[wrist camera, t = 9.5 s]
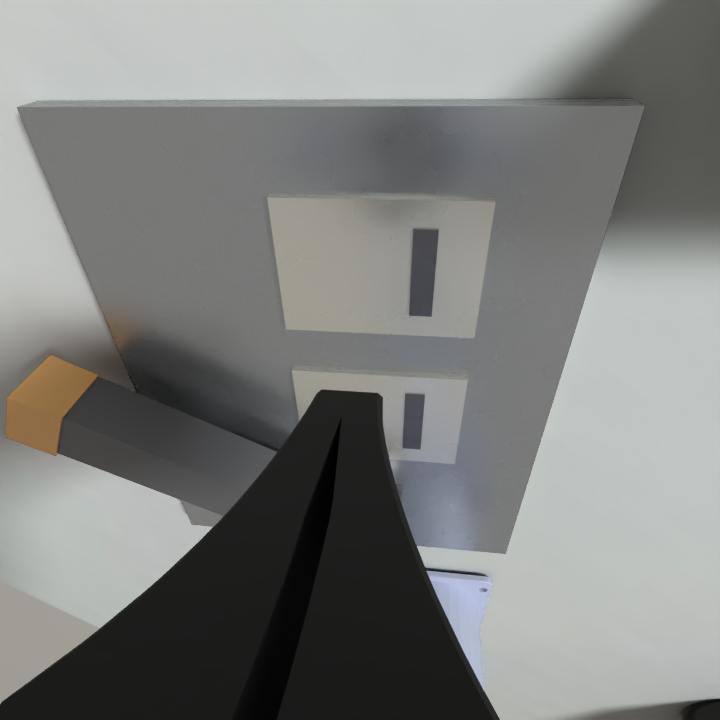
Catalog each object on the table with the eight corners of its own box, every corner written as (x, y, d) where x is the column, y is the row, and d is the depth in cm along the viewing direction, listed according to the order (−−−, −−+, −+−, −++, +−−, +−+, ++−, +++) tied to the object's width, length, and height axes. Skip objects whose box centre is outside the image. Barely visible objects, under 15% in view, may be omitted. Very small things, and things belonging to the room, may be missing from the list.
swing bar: (353, 482, 23) (346, 531, 21) (330, 508, 24) (321, 556, 22) (50, 354, 20) (6, 397, 18) (46, 393, 21) (5, 437, 19)
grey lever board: (503, 537, 27) (515, 631, 23) (198, 509, 29) (161, 592, 25) (632, 98, 13) (716, 145, 9) (37, 100, 15) (-99, 140, 11)
